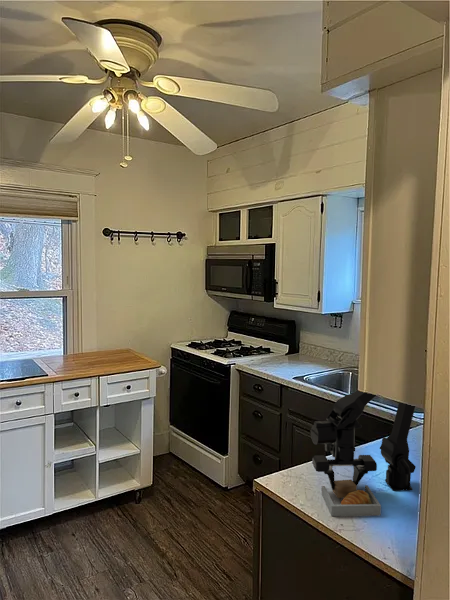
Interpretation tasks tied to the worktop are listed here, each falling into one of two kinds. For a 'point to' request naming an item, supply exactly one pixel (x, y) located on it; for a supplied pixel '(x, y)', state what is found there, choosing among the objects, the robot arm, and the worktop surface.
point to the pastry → (356, 498)
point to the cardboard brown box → (344, 488)
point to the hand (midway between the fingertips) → (343, 489)
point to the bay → (353, 506)
